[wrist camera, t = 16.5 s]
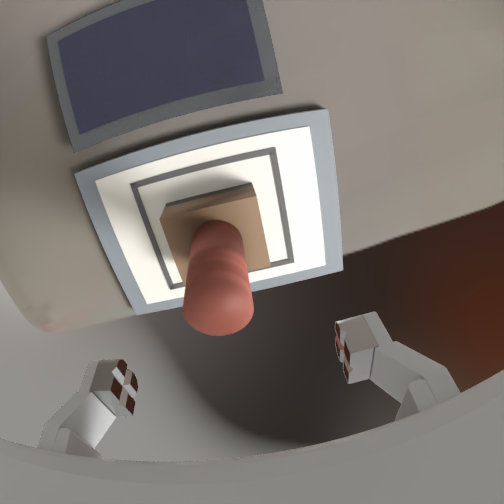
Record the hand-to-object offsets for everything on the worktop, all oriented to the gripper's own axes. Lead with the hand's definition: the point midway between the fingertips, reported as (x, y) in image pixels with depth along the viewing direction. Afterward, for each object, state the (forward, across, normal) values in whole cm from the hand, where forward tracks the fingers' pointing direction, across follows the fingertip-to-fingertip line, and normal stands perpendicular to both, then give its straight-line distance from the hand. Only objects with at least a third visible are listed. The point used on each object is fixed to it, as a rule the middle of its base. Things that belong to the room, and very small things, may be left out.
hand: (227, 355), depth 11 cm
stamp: (+12, +1, +1) cm, 12 cm away
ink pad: (+13, +2, -12) cm, 18 cm away
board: (+13, +1, 0) cm, 13 cm away
